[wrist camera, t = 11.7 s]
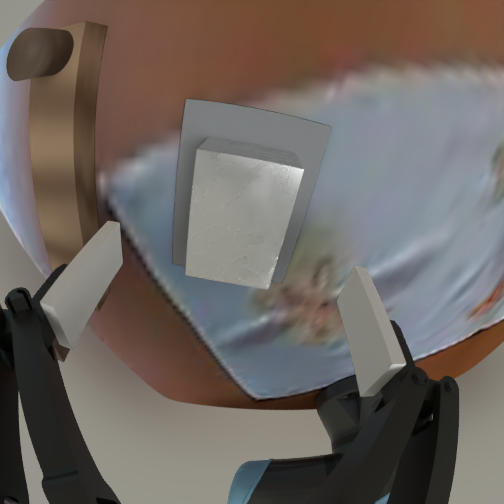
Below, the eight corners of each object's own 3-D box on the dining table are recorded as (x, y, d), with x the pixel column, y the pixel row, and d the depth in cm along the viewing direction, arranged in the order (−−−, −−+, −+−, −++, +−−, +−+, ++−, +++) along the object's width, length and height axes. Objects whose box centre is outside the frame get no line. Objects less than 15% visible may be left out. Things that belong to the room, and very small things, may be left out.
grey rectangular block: (267, 257, 23) (268, 289, 19) (196, 244, 22) (185, 275, 19) (295, 152, 18) (304, 169, 14) (209, 136, 17) (196, 149, 14)
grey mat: (282, 280, 25) (282, 283, 24) (173, 261, 24) (172, 263, 23) (330, 126, 17) (331, 127, 16) (187, 98, 16) (186, 99, 16)
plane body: (109, 291, 26) (72, 365, 18) (74, 282, 26) (33, 348, 18) (107, 26, 12) (13, 12, 4) (60, 36, 12) (-32, 40, 3)
